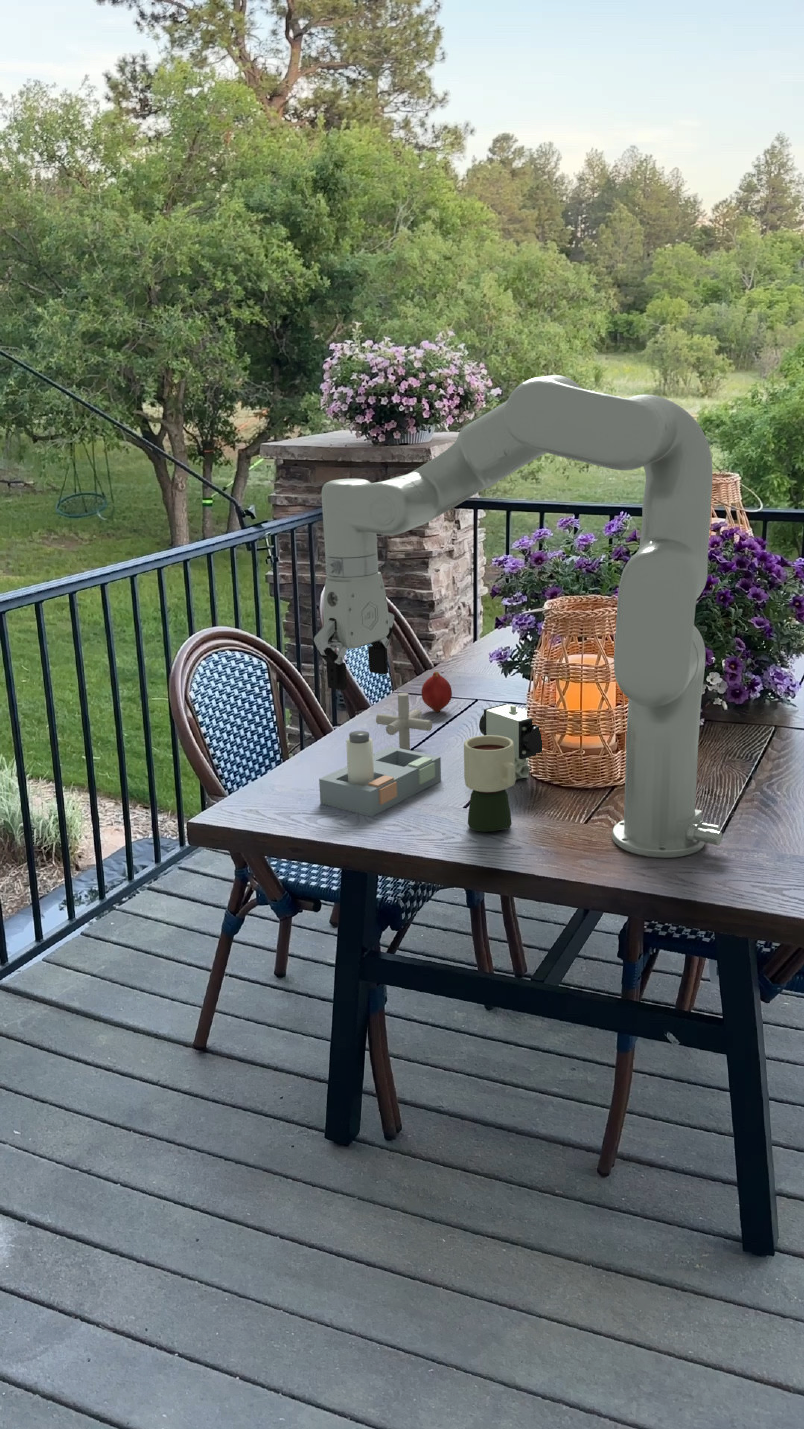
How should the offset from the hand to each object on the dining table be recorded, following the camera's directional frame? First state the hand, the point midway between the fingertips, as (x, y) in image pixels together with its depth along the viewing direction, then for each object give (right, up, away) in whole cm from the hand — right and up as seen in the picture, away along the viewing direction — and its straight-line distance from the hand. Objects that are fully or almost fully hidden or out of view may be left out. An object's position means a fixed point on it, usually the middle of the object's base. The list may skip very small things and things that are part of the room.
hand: (358, 680), depth 173 cm
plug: (0, -18, +6) cm, 19 cm away
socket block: (+3, -17, +10) cm, 20 cm away
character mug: (+19, -22, -5) cm, 29 cm away
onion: (+13, -5, +49) cm, 51 cm away
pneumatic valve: (+25, -15, +15) cm, 32 cm away
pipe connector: (+7, -11, +29) cm, 32 cm away
